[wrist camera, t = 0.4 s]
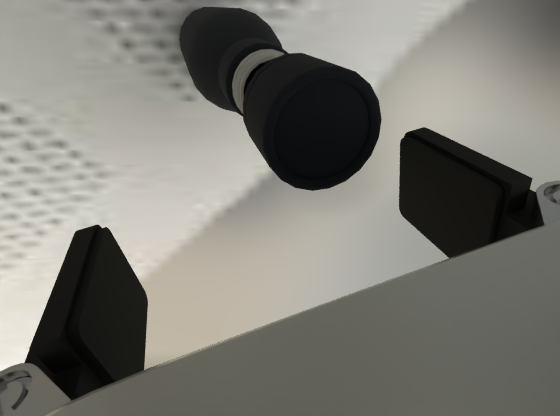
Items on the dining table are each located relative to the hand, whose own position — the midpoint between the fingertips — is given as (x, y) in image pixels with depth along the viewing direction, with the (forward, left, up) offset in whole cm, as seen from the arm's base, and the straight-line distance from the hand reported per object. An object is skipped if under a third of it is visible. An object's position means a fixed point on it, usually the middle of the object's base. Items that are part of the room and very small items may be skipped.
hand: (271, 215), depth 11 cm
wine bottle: (-2, +2, -31) cm, 31 cm away
